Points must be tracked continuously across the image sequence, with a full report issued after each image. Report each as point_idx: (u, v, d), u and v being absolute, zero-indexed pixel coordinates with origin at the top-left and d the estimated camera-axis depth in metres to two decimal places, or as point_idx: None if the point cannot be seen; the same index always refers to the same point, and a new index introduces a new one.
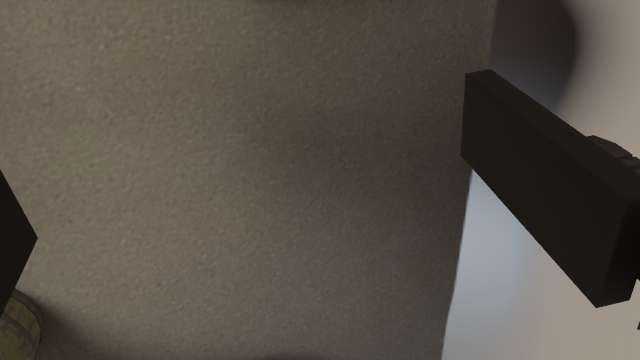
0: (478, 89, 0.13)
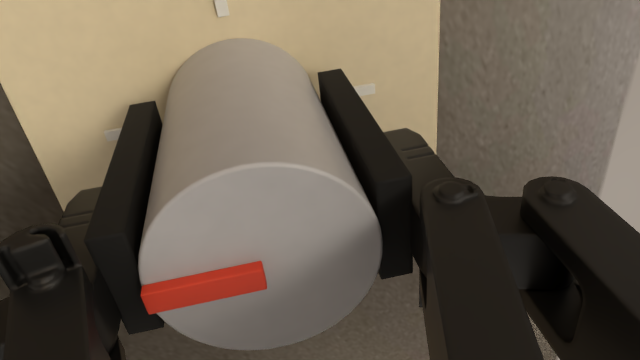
0: (323, 86, 0.15)
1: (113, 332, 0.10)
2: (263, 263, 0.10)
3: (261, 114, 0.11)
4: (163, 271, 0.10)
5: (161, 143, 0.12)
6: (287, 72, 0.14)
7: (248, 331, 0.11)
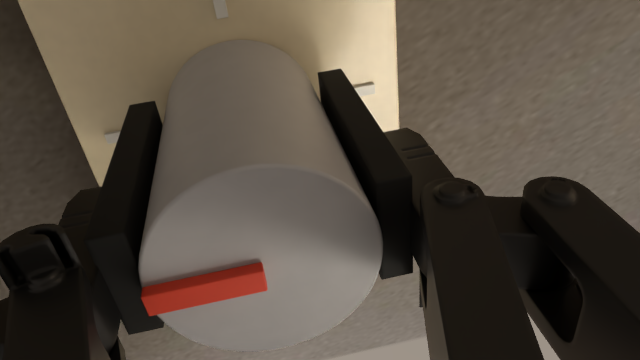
0: (323, 86, 0.15)
1: (113, 332, 0.10)
2: (263, 264, 0.10)
3: (260, 116, 0.11)
4: (163, 273, 0.10)
5: (161, 145, 0.12)
6: (287, 73, 0.14)
7: (248, 333, 0.11)
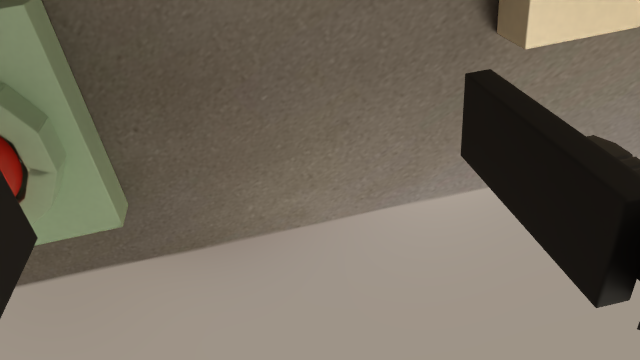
0: (478, 89, 0.13)
1: None
2: None
3: None
4: None
5: None
6: None
7: None
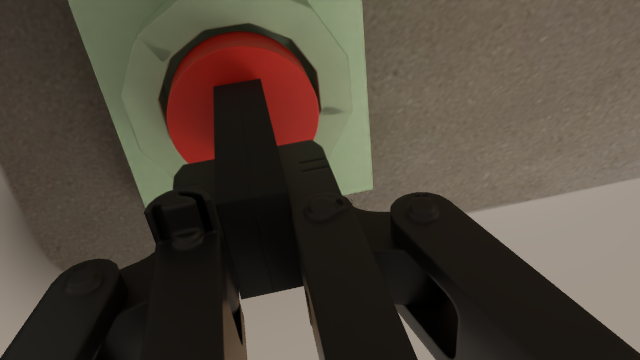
0: None
1: (237, 294, 0.10)
2: None
3: None
4: None
5: None
6: None
7: None
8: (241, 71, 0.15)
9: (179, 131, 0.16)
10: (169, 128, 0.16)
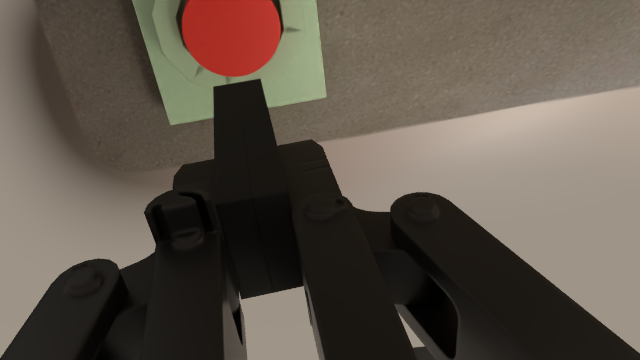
0: None
1: (237, 294, 0.10)
2: None
3: None
4: None
5: None
6: None
7: None
8: None
9: (189, 36, 0.25)
10: (183, 33, 0.25)
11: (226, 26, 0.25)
